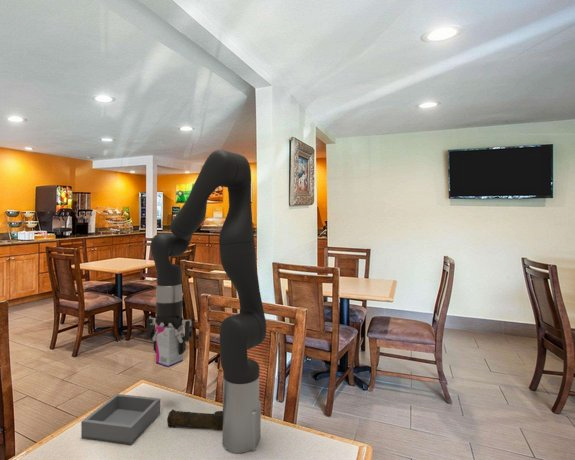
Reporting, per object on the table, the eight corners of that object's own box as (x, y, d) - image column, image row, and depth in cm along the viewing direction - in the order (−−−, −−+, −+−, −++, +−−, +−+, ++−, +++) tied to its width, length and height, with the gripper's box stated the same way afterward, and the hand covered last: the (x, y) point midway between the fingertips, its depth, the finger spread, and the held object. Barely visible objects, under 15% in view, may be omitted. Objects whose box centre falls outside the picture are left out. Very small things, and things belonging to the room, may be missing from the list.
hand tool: (165, 429, 93) (165, 412, 93) (172, 420, 97) (172, 404, 97) (233, 436, 90) (233, 419, 90) (237, 427, 94) (237, 411, 94)
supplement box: (183, 361, 105) (183, 324, 105) (168, 368, 100) (168, 329, 100) (171, 357, 108) (171, 321, 108) (155, 363, 103) (155, 326, 103)
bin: (160, 413, 100) (160, 398, 99) (131, 445, 86) (131, 427, 86) (116, 408, 102) (116, 393, 102) (81, 438, 88) (81, 421, 88)
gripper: (196, 297, 106) (196, 349, 106) (154, 295, 108) (154, 346, 109) (186, 303, 99) (186, 359, 99) (140, 300, 101) (140, 356, 101)
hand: (169, 352), depth 104 cm, fingers closed on supplement box, 7 cm apart
